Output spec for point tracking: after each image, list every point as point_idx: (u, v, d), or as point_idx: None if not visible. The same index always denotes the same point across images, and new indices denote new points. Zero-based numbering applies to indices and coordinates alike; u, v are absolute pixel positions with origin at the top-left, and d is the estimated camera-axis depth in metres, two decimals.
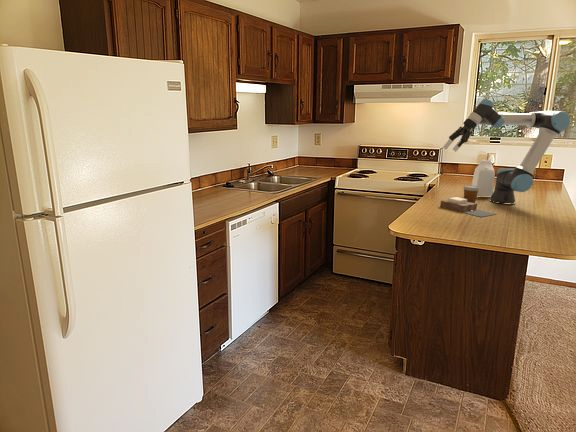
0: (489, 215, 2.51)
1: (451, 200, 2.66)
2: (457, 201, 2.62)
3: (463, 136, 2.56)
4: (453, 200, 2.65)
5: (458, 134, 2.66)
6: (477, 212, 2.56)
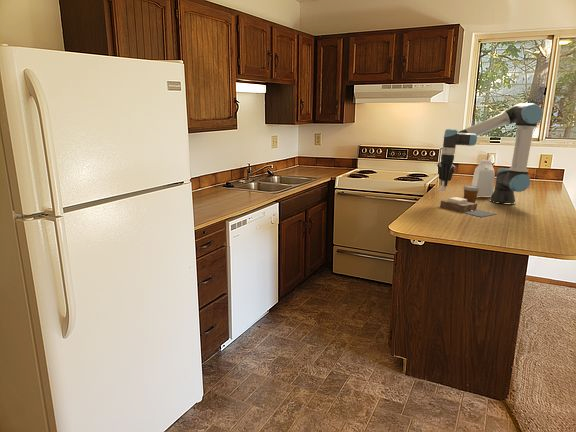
0: (489, 215, 2.51)
1: (451, 200, 2.66)
2: (457, 201, 2.62)
3: (446, 175, 2.70)
4: (453, 200, 2.65)
5: (444, 170, 2.72)
6: (477, 212, 2.56)
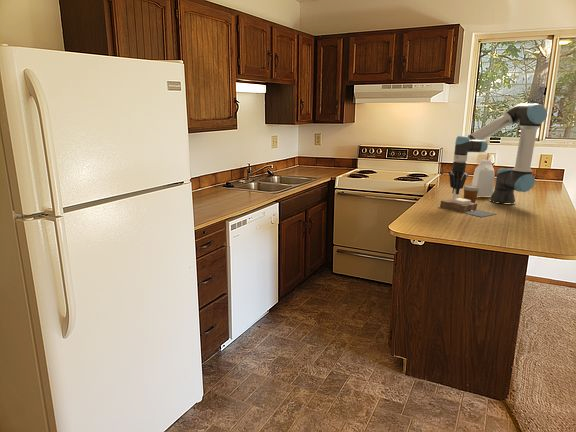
0: (489, 215, 2.51)
1: (455, 201, 2.64)
2: (461, 202, 2.60)
3: (458, 183, 2.64)
4: (457, 201, 2.63)
5: (456, 178, 2.66)
6: (477, 212, 2.56)
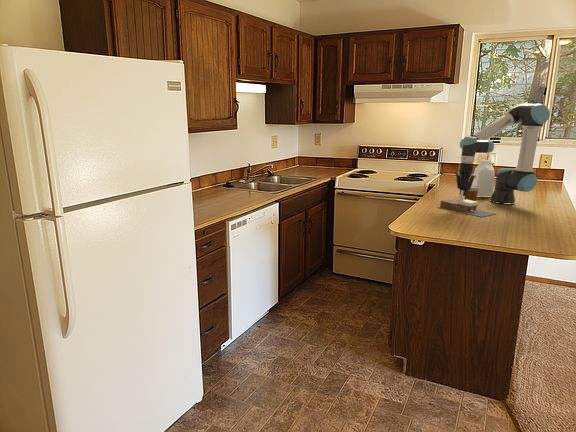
0: (489, 215, 2.51)
1: (462, 203, 2.60)
2: (468, 204, 2.56)
3: (465, 185, 2.60)
4: (464, 203, 2.58)
5: (463, 179, 2.62)
6: (477, 212, 2.56)
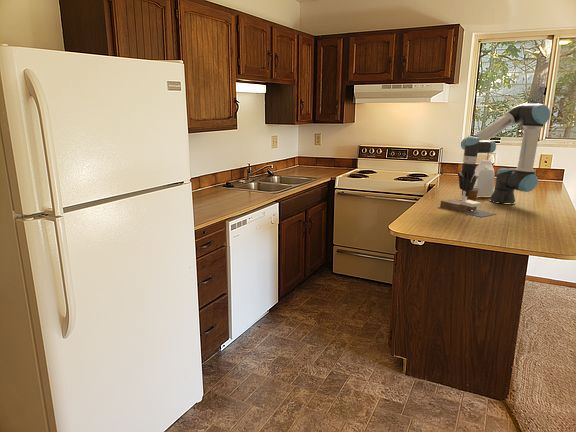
0: (489, 215, 2.51)
1: (464, 203, 2.58)
2: (470, 204, 2.55)
3: (468, 185, 2.58)
4: (466, 203, 2.57)
5: (466, 180, 2.60)
6: (477, 212, 2.56)
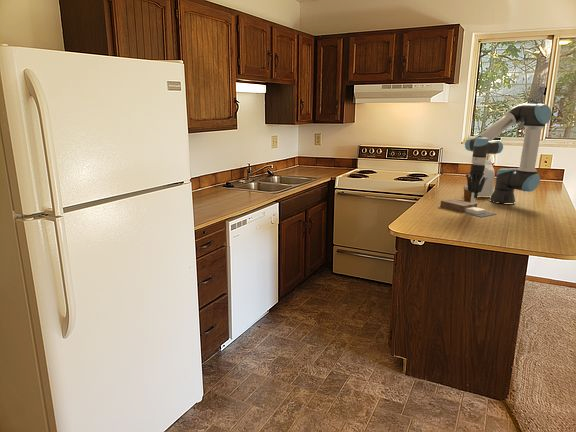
0: (489, 215, 2.51)
1: (469, 210, 2.56)
2: (475, 211, 2.53)
3: (476, 187, 2.54)
4: (471, 210, 2.55)
5: (474, 181, 2.56)
6: None
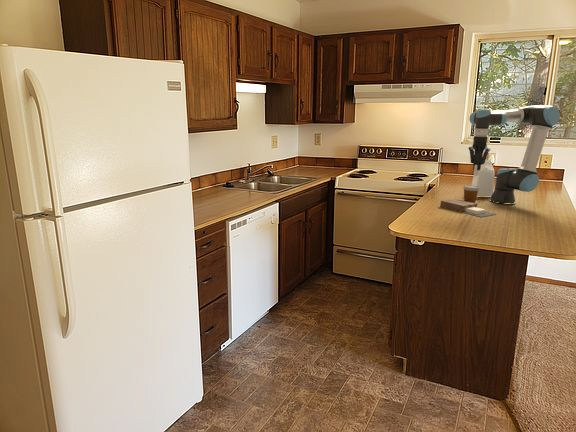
0: (489, 215, 2.51)
1: (469, 210, 2.56)
2: (475, 211, 2.53)
3: (480, 159, 2.53)
4: (471, 210, 2.55)
5: (477, 154, 2.55)
6: None
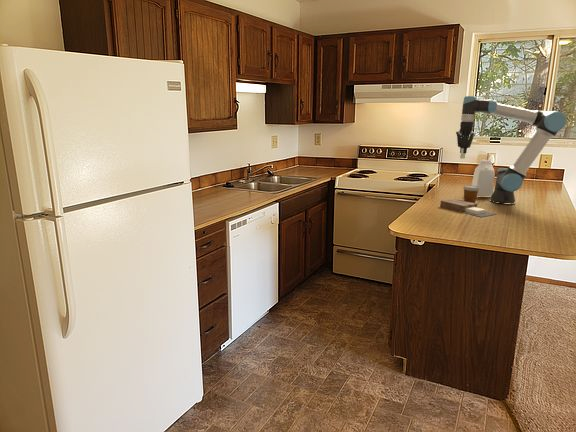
0: (489, 215, 2.51)
1: (469, 210, 2.56)
2: (475, 211, 2.53)
3: (466, 143, 2.73)
4: (471, 210, 2.55)
5: (463, 138, 2.75)
6: None
